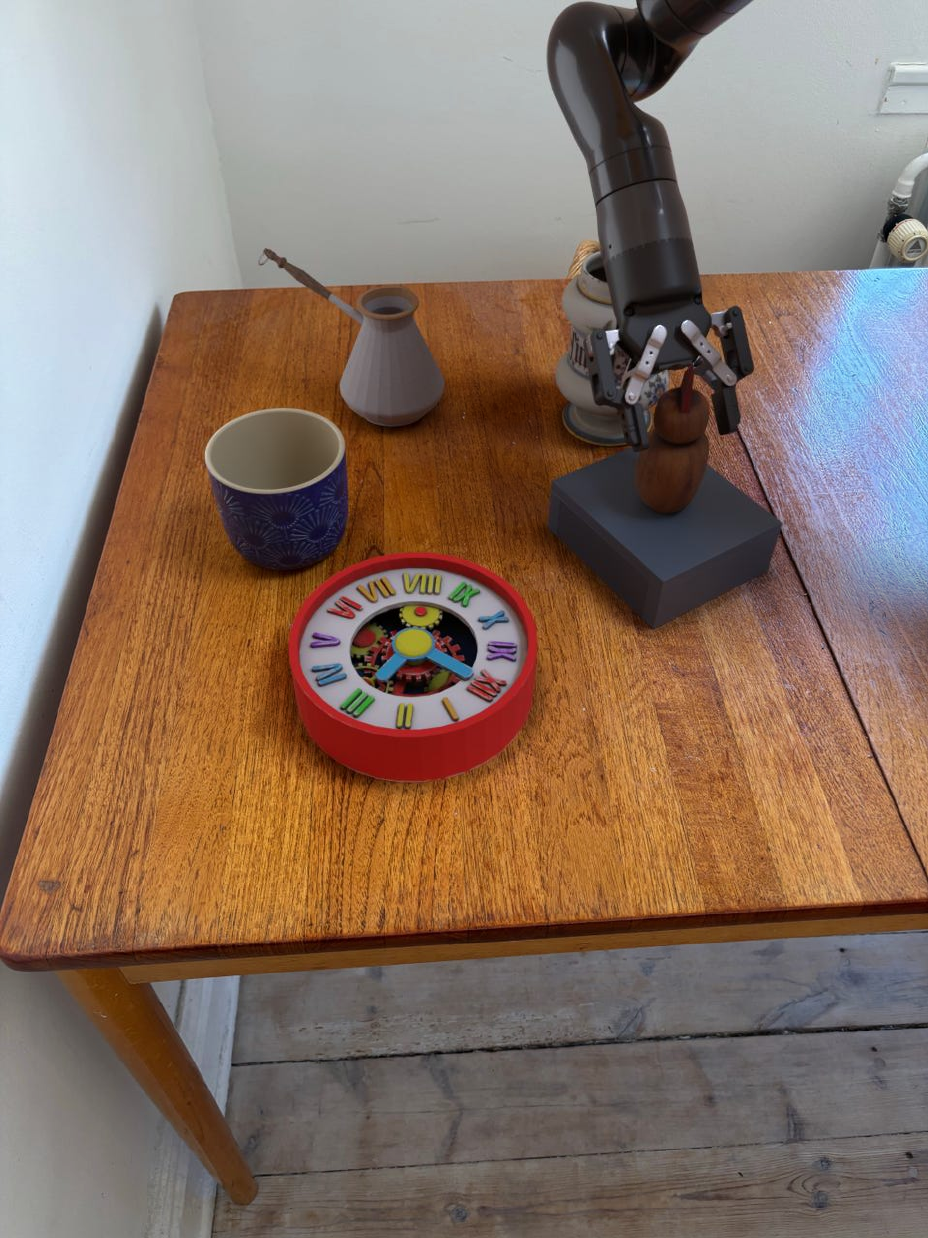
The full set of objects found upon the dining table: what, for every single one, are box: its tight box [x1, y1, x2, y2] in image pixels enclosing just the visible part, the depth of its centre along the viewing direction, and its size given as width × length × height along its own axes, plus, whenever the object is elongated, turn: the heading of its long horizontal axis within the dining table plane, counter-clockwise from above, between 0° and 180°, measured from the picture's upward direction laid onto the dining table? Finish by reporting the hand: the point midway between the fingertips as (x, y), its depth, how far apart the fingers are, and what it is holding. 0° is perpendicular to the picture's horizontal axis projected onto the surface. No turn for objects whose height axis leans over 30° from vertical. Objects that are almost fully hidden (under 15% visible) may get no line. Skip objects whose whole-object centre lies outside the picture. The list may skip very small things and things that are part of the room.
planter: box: [204, 407, 349, 571], centre depth 93 cm, size 12×12×11 cm
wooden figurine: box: [635, 364, 711, 513], centre depth 87 cm, size 7×6×15 cm
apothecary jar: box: [554, 250, 671, 447], centre depth 105 cm, size 12×12×18 cm
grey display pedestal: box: [547, 446, 783, 630], centre depth 95 cm, size 14×16×6 cm
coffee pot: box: [257, 248, 446, 428], centre depth 109 cm, size 21×12×15 cm, turn 62°
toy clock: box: [287, 551, 538, 783], centre depth 83 cm, size 20×6×20 cm
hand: (685, 441), depth 86 cm, fingers open, 7 cm apart
